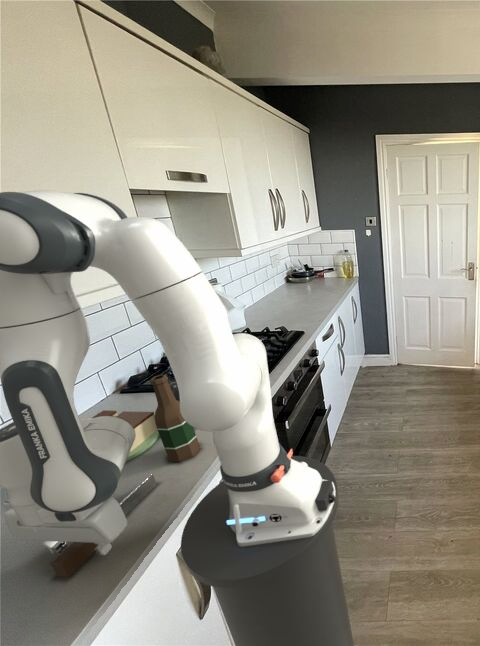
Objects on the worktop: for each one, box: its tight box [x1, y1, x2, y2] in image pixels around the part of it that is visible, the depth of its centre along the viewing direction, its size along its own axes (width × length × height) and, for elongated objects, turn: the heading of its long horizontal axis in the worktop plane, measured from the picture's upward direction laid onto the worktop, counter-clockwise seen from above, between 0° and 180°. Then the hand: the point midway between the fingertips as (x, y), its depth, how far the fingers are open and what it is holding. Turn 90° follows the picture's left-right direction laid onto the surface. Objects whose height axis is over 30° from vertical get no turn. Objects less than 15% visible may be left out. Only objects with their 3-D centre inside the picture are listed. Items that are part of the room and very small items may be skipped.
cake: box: [116, 411, 160, 463], centre depth 98 cm, size 20×20×7 cm
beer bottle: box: [149, 374, 201, 463], centre depth 92 cm, size 8×8×24 cm
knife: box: [49, 473, 158, 578], centre depth 75 cm, size 2×22×4 cm, turn 176°
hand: (82, 550), depth 68 cm, fingers open, 8 cm apart
